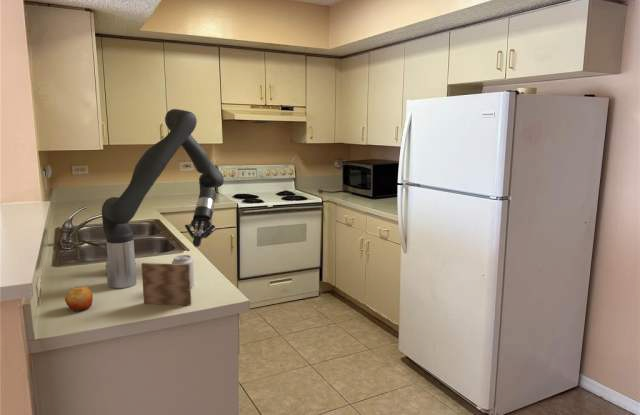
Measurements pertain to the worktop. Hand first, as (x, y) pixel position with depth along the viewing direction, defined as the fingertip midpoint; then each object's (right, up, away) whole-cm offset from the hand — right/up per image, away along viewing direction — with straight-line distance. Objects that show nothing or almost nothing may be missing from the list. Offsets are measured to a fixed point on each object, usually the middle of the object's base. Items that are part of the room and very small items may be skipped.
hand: (196, 245), depth 180 cm
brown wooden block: (-2, -17, -26) cm, 31 cm away
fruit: (-29, -18, -32) cm, 47 cm away
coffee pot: (-37, -11, +3) cm, 39 cm away
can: (-1, -15, -13) cm, 20 cm away
